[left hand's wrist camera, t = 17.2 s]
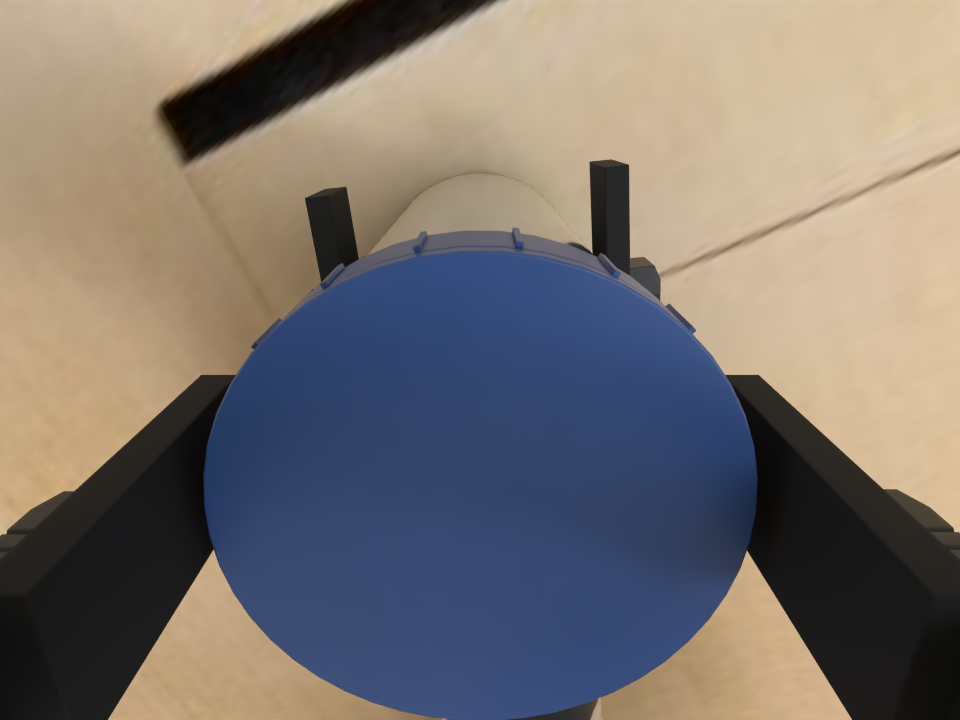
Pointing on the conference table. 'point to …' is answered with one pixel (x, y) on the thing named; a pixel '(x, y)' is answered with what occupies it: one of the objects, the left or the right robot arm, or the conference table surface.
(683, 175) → the conference table surface
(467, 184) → the jar
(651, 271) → the right robot arm
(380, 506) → the lid
